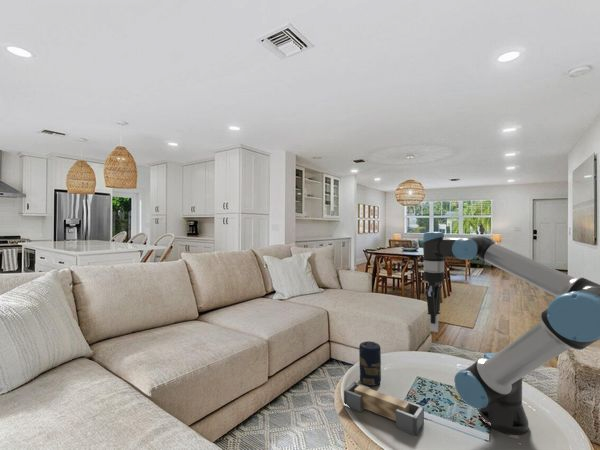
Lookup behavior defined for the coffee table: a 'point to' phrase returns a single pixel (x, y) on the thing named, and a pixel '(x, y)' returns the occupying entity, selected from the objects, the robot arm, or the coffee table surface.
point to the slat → (381, 402)
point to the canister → (370, 363)
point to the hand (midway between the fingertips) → (434, 330)
